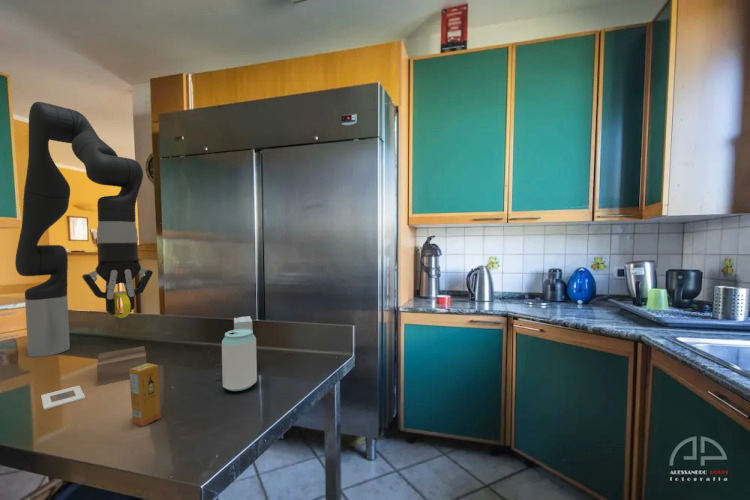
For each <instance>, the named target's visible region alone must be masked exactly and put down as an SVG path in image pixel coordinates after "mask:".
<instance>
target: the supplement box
mask: <svg viewBox="0 0 750 500" xmlns="http://www.w3.org/2000/svg"><path fill="white" fill-rule="evenodd" d="M129 375H130V379H129V386H130V387H129V388H130V400H131V401H130V402H131V417H132V423H133V424H134V425H137V426H139V427H145V426H147V425H149V424H151V423H153V422H154V421H157V420H159V419H161V416H162V415H161V413H162V412H161V400H160V397H161V396H160V383H159V380H160V379H159V365H158V364H153V363H148V362H146V364H143V365H140V366H138V367H135V368H132V369H129Z"/></svg>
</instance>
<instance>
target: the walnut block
mask: <svg viewBox="0 0 750 500" xmlns="http://www.w3.org/2000/svg"><path fill="white" fill-rule="evenodd" d="M146 363H147V353H146V349H145V345H142V346H136V347H130V348H125V349H120V350H119V349H118V350H112V351H107V352H101V353H98V358H97V363H96V370H97V371H96V377H97V379H96V380H97V387H99V386H106V385H108V384H110V385H111V384H115V383H119V382H123V381H128V380H129V381H130V375H129V369H132V368H135V367H138V366H140V365H143V364H146Z"/></svg>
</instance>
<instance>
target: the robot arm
mask: <svg viewBox="0 0 750 500" xmlns="http://www.w3.org/2000/svg"><path fill="white" fill-rule="evenodd" d="M50 141H54V142H58V143H59V142H60V143H64V144H65V143H66V144H71V149H72V153H73V154H74V156H75V157H76V158H77V159H78V160H79V161H80V162H81V163H83V165H84V166H85V167H84V168H85V173H86V177H87V178H88V179H89V180H90V181H91V182H93V183H95V184H97V185H101V186H110V187H119V188H120V190H119V193H118V194H116V195H106V196H101V197H99V198H98V200H97V229H96V238H97V239H96V240H97V241H96V243H97V266H96V267H95V270H93V271H91V272H89V273H84V274H82V275H81V278H82V279H83V280H84V282H85V284H86V285H87V286H88V287H89V289H90V290H91V292H92V293H93V294H94V296H95V297H96V298H99V299H104V300H105V311H106V312H107V314H109V315H110V316H113V315H115V299H113V296H114V292H115V289H116V285H117V284H123V286H124V290H125V291H126V292H127V296H128V298H129V300H130V307H131V309H130V313H132V310H134V309H135V308H136V307H135V296H137V295H139V294H142V293H143V292H144V291H145V289H146V287H147V286H148V283H149V281H150V279H151V278H152V275H153V270H150V269H145V268H143V267H141V264H140V263H139V249H138V247H139V246H138V244H139V243H138V242H139V241H138V240H139V236H138V229H137V223H136V221H137V219H136V203H137V199H138V194H139V192H140V188H141V186H142V182H143V179H144V170H143V168H142V166H141V164H140V163H139V162H138V161H137V160H135V159H132V158H127V157H124V156H118V154H117V152H116V151H115V150H114V148H113V147H111V146H109V144H107V143H106V142H105V141H104V140H103V139H101V138H100V136H99V135H98V134H97V132H96V130H95V129H94V128H93V126H92V124H91V123H90V121H89V120H88V119H87V117H85V116H84V114H82V113H81V112H80V111H77V110H75V109H72V108H67V107H62V106H59V105H55V104H51V103H48V102H42V101H35V102H34V103H32V105H31V106H30V108H29V113H28V158H27V166H26V167H27V168H26V169H27V170H26V175H25V176H26V177H25V184H24V189H23V199H22V201H23V202H22V203H23V205H22V217H21V218H22V220H21V228H20V233H19V239H18V243H17V248H16V254H15V259H14V260H15V264H14V265H15V270H16V273H18V274H19V275H20V276H22V277H38V276H39V277H40V276H49V275H50V277H49V278H48V279H47V280H45V281H44V282H42V283H39V284H38V285H35V286H33V287H29V288H28V289H26V290H25V292H24V303H25V323H26V324H25V326H26V341H27V342H26V343H27V345H26V346H27V356H28V357H30V358H40V357H42V358H43V357H47V356H48V357H49V356H53V355H57V354H60V353H64V352H66V351H69V350H70V348H71V347H70V346H71V345H70V328H69V327H70V326H69V325H70V324H69V304H68V301H69V300H68V269H69V266H68V264H69V261H68V259H69V258H68V257H69V256H68V251H67V250H66V247H64V246H63V245H60V244H40V245H39V242H40V240H41V238H42V236H43V235H44V234H45V232H47V230H49V229H50V228H51V227H52V226H53V225H55V223H57V222H58V221H59V220H60V219H61V218H63V216H64V215H65V214H66V212H68V210H69V209H68V208H69V204H70V195H71V187H70V184H69V183H68V180H67V179H66V177H65V176H64V175H63V173H62V172H61V171H60V169H59V168H58V166H57V165H56V163H55V161H54V160H53V157H52V155H51V153H50V149H49V146H50V145H49V143H50ZM138 274H139V277H140V279H139V281H138V283H137V285H136V287H135V288H134V282H133V281H134V279H135V277H136V276H137V275H138ZM97 276H99V277H100V278H101V279H102V280H104V281H105V292H104V291H102V290H101V289H100V287H99V286H98V285H97V283H96V282H97V280H98V278H97Z"/></svg>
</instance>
